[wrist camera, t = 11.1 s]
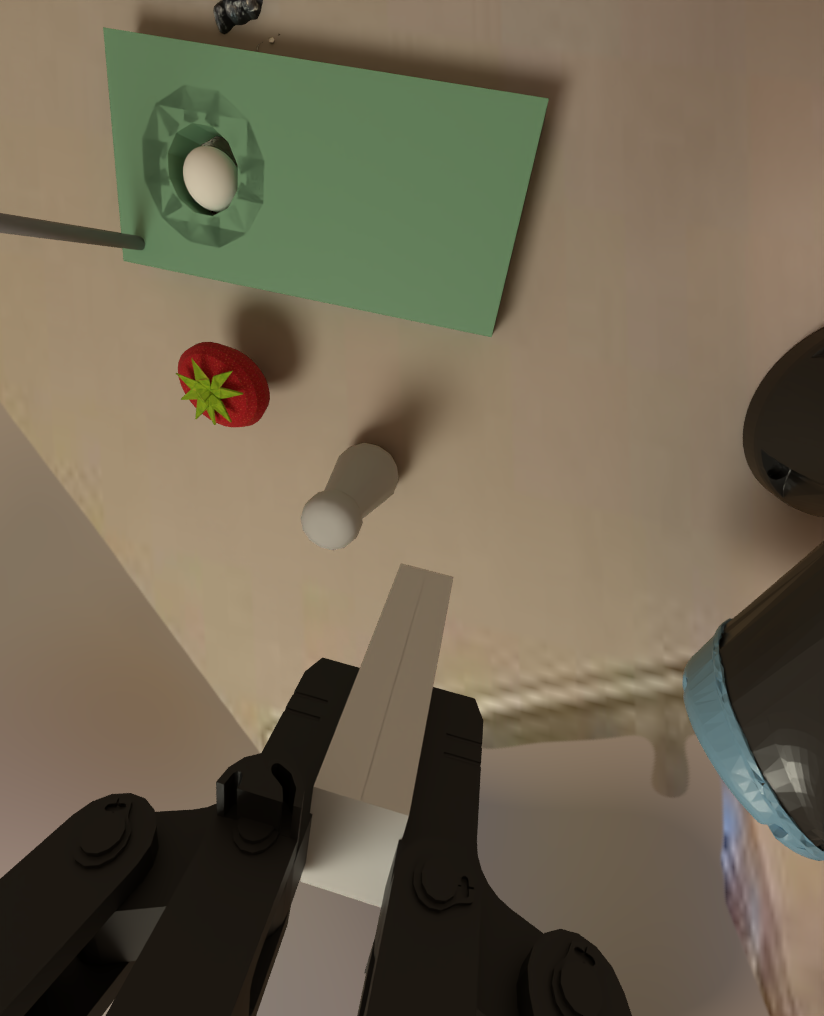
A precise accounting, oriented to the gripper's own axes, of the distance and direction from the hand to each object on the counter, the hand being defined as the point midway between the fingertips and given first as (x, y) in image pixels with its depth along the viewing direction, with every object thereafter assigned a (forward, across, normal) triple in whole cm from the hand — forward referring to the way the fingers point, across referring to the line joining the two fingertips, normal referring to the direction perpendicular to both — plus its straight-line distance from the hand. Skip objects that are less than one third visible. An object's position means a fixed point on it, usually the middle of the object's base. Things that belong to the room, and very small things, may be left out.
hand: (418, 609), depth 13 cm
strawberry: (+30, +20, +2) cm, 36 cm away
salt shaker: (+30, +8, +8) cm, 32 cm away
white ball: (+27, +23, -12) cm, 38 cm away
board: (+29, +15, -12) cm, 35 cm away
